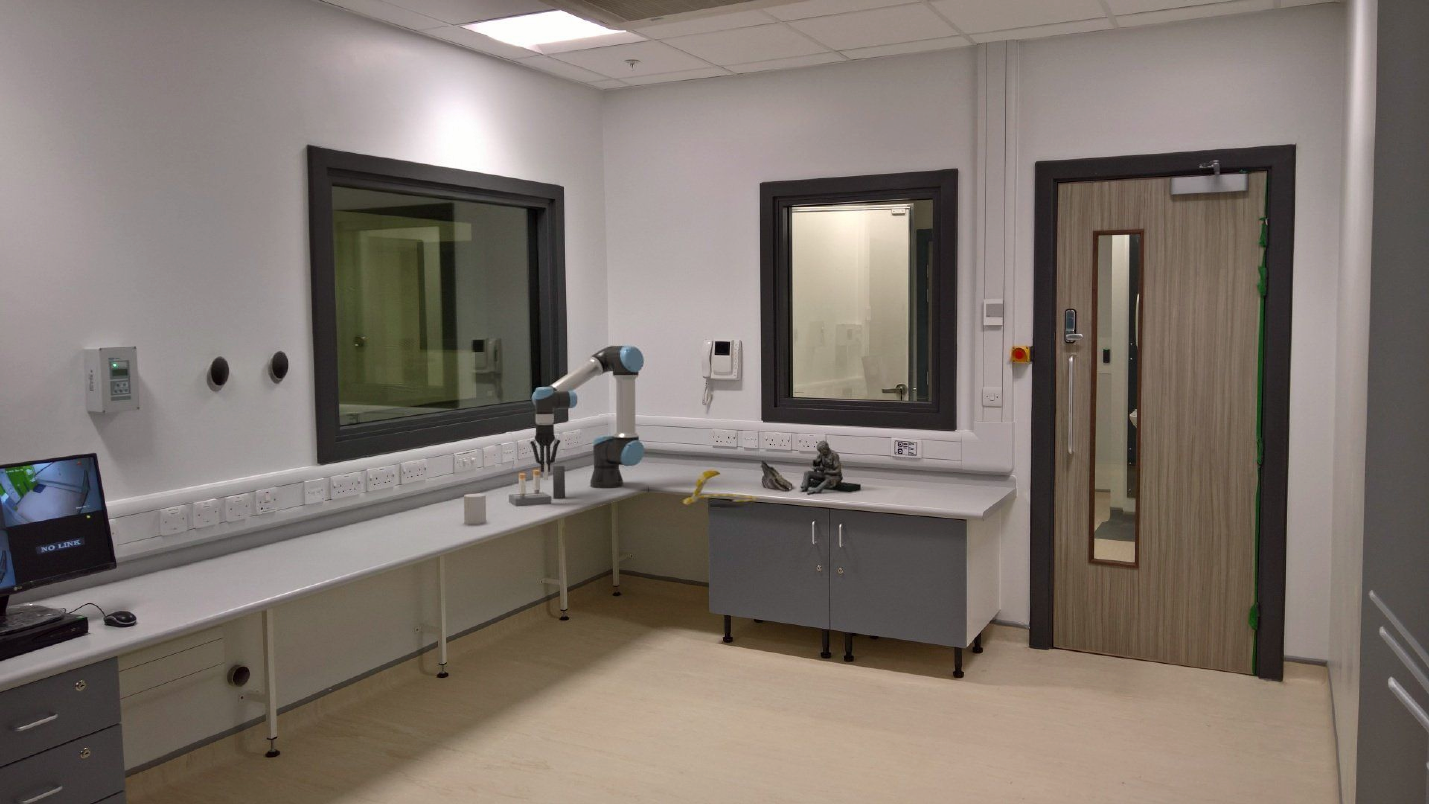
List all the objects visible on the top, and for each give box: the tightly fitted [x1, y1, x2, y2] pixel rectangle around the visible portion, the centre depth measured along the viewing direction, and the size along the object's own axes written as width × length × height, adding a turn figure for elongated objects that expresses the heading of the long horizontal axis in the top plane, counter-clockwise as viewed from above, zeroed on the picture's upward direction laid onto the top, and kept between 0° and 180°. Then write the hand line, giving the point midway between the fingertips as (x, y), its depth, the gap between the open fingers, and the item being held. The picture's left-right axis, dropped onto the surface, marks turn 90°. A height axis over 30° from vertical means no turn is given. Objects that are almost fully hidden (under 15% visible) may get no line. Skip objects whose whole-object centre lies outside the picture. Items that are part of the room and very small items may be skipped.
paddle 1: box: [518, 472, 527, 497], centre depth 419 cm, size 2×4×10 cm, turn 23°
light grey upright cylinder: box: [463, 493, 487, 525], centre depth 387 cm, size 8×8×12 cm
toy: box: [682, 469, 758, 506], centre depth 420 cm, size 29×28×15 cm
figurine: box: [798, 440, 862, 496], centre depth 439 cm, size 25×24×24 cm
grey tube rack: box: [508, 491, 552, 507], centre depth 424 cm, size 15×13×3 cm
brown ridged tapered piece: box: [760, 460, 793, 492], centre depth 454 cm, size 22×9×28 cm
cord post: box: [552, 465, 566, 500], centre depth 434 cm, size 5×5×14 cm
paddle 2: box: [532, 469, 541, 493], centre depth 429 cm, size 2×4×10 cm, turn 23°
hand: (545, 479), depth 422 cm, fingers closed
